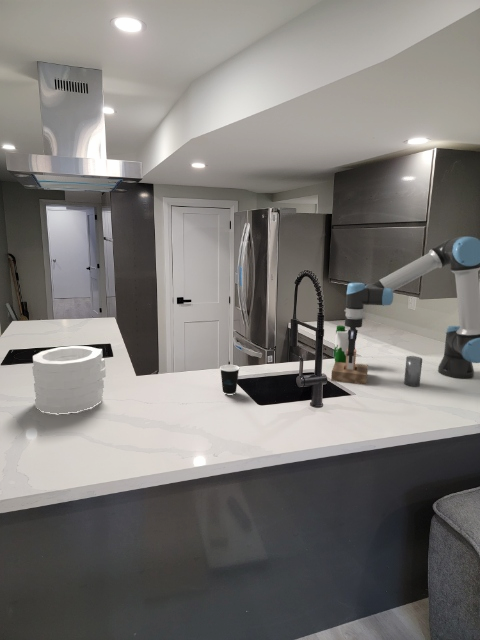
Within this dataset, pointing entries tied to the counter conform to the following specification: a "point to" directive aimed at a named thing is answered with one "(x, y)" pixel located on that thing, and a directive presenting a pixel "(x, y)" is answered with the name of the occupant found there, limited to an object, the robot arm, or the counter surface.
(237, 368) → the dixie cup
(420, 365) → the round post
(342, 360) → the milk carton
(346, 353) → the square peg
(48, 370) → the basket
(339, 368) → the socket block
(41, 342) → the counter surface
